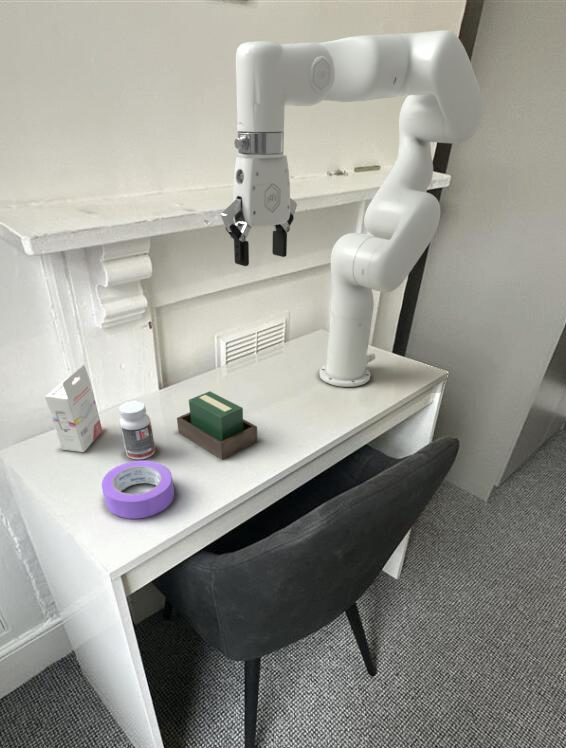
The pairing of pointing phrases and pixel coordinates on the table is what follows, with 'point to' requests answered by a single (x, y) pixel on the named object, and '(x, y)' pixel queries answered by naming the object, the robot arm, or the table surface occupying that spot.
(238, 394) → the table surface
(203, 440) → the caddy
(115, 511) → the tape roll
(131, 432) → the pill bottle
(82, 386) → the ink cartridge box
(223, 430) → the green box
